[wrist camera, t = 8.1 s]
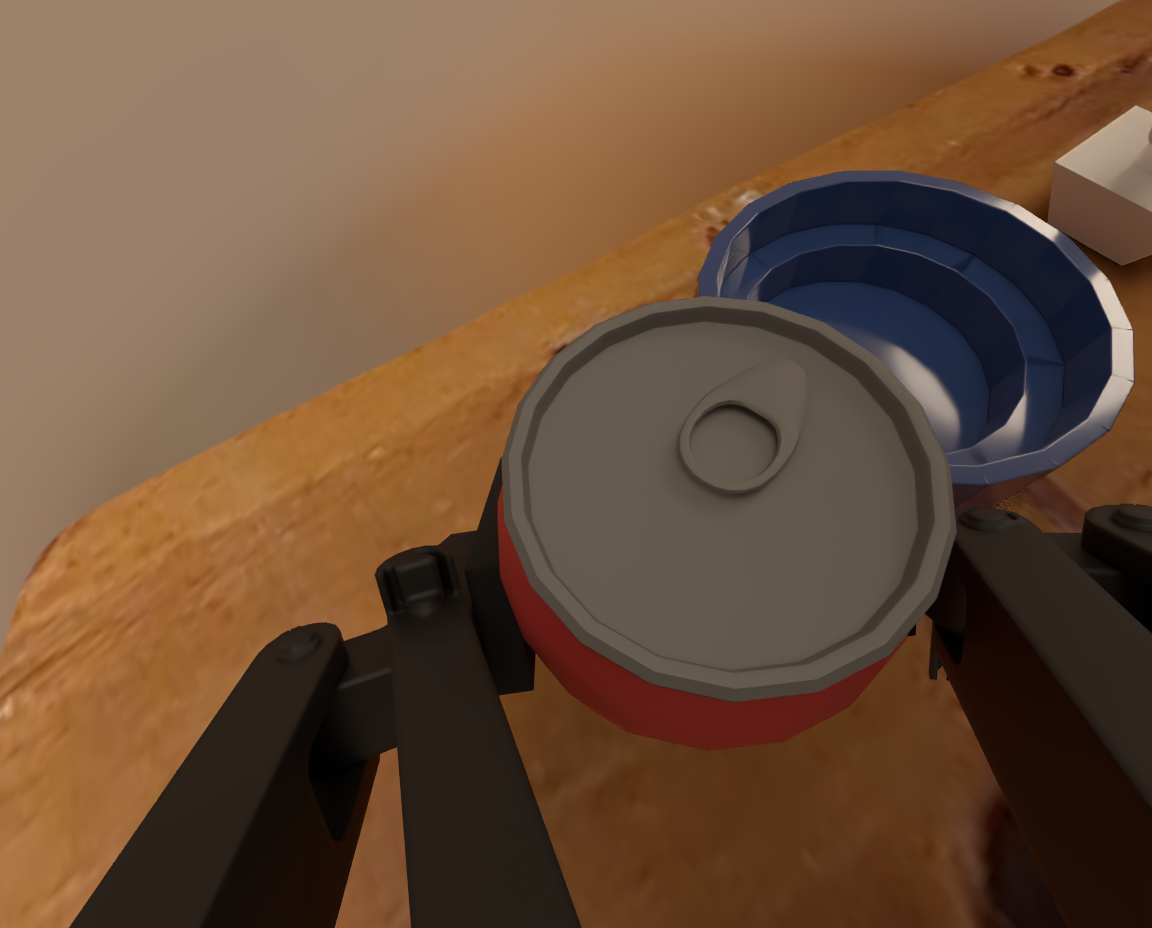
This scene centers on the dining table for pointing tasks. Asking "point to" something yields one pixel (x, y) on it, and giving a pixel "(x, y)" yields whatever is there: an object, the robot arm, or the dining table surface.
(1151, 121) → the figurine
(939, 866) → the dining table surface
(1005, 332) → the bowl
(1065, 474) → the dining table surface
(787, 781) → the dining table surface
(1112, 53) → the dining table surface
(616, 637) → the beer can
